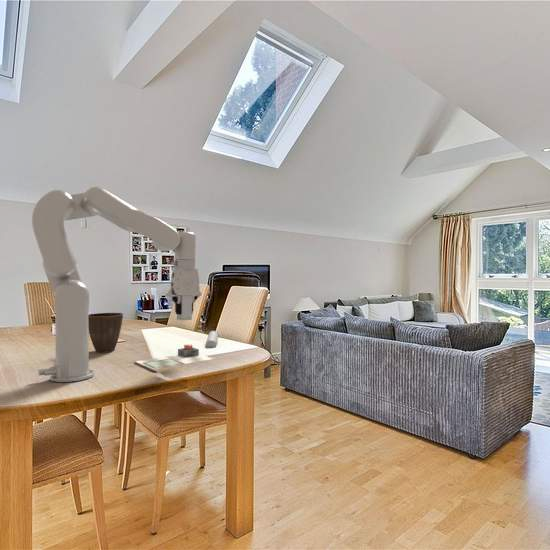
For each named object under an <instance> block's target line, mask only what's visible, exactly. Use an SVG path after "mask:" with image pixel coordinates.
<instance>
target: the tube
mask: <svg viewBox="0 0 550 550" xmlns="http://www.w3.org/2000/svg"><path fill="white" fill-rule="evenodd" d="M218 339H219V333H218V331H216V330H210V331H209V333H208V334H207V339H206V342H205V348H216V347H217V344H218Z"/></svg>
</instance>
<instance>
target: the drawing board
mask: <svg viewBox="0 0 550 550" xmlns="http://www.w3.org/2000/svg"><path fill="white" fill-rule="evenodd" d="M211 360H215V358H214V357H211V356H207V355H204V354H200V350H199V348H196V347H193V346H192V350H184V347H182V348H177V354H176V355H175V354H174V355H169V356H163V357H155V358H148V359H143V360H136V361H133V364H134V366H137V367H139V368H141V369H144V370H146V371H148V372H150V373H152V374H154V373H156V374H157V373H158V371H157V370H158V369H162V368H163V369H164V368H170V367H177V366H180V365H181V366H182V365H188V364H194V363H200V362H205V361H211Z"/></svg>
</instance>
